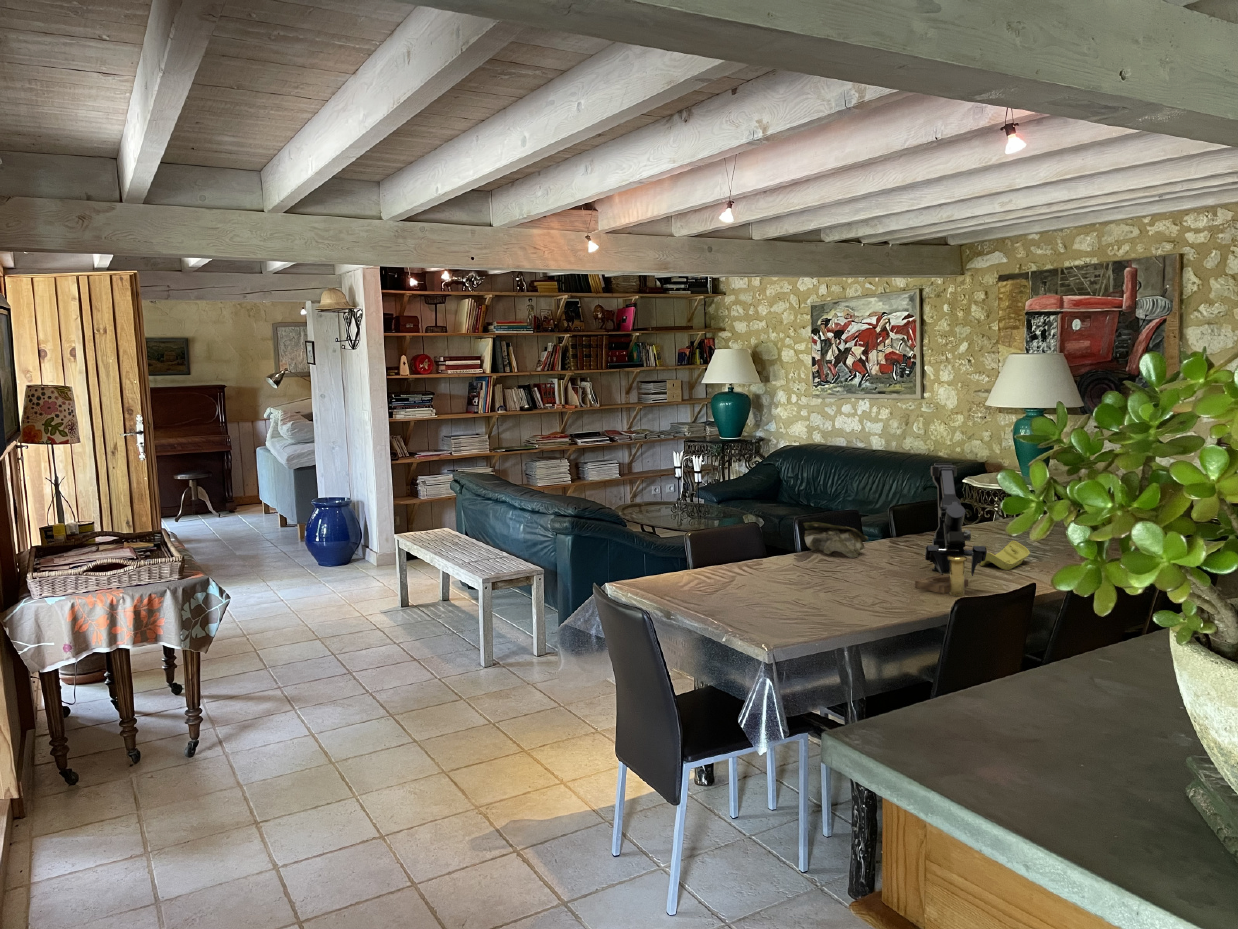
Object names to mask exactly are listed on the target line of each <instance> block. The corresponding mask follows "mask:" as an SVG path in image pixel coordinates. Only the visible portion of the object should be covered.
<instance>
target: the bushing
mask: <svg viewBox="0 0 1238 929" xmlns="http://www.w3.org/2000/svg"><path fill="white" fill-rule="evenodd" d="M967 558H968V556H961V555H950V556H948V560H950V572H949V576H950V592H949V595H950V596H951V597H952V596H953V597H963V596H965V587H964V579H965V562H966V561H967V560H968V559H967Z"/></svg>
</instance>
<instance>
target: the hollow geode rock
mask: <svg viewBox="0 0 1238 929" xmlns="http://www.w3.org/2000/svg"><path fill="white" fill-rule="evenodd" d="M802 524H803V526H804V528H805V529H806V530H804V541H805V544H806V546H807V547H808V548H809V549H810V550H811V551H812V552H814V551H821V552H823V553H825V554H828V555H829V554H830V555H831V554H833V553H834V552H839V553H842V554H844V555H845V556H847V557H848V558H849V559H854V558H858V557H859V554H860V553H861V551H862V550H863V549H864V548H865V544H864V542H866V541H869V537H868V536H866V535H865V534H863V533H862V532H860V530H858V529H855V528H854V527H849V526H842V525H834V524H830V523H824V522H817V521H812V522H803V523H802Z"/></svg>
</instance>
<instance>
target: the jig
mask: <svg viewBox="0 0 1238 929" xmlns="http://www.w3.org/2000/svg"><path fill="white" fill-rule="evenodd" d="M914 584H915V585H914V588H915V589H919V590H920V589H921V590H924V591H930V592H934V593H938V594H946V593H947V594H948V593H950V575H946V574H943V575H941V573H938V574H935V575H931V576H927V577H924V578H921V579H920V578H919V579H916V580H914ZM968 587H969V579H968V578H964V588H968Z"/></svg>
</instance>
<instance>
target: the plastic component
mask: <svg viewBox="0 0 1238 929" xmlns="http://www.w3.org/2000/svg"><path fill="white" fill-rule="evenodd" d="M1030 553H1031V552H1030V550H1029V549H1028V548H1027V547H1026V546H1024V545H1023V544H1021V543H1020V542H1018V541H1016V540H1012V541H1010V542H1009V543H1008V544H1006V545H1005V547H1003V549H1001V550H1000V551H999V552H997V553H996V554H994V553H992V552H987V554H986V558H985V561H983V562H981V563H978V564H979V565H980V567H984V566H987V565H988V564H990V563H992V564H993V565H995V566H997V567H998V568H1000V569H1001V570H1004V571H1009V570H1012V569H1013V568H1016V567H1017V566H1019V565H1021V564H1022V563H1023V561H1024V560H1026V559H1027V558H1028V556H1030Z"/></svg>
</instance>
